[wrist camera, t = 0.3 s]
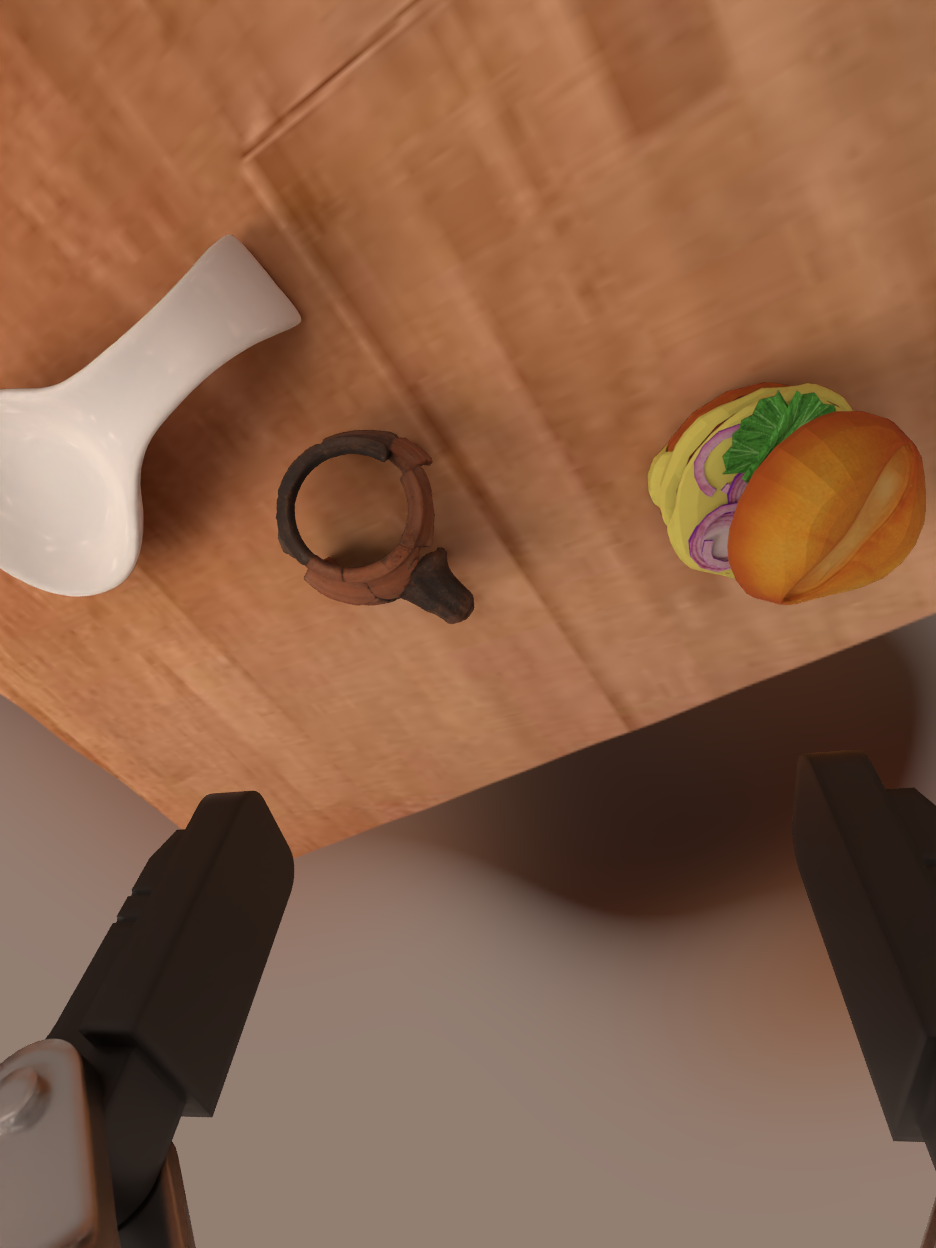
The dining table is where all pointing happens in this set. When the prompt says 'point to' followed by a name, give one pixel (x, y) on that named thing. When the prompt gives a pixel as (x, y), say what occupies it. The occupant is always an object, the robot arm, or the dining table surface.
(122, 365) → the spoon rest
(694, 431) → the cheeseburger
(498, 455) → the dining table surface
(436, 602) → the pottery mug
